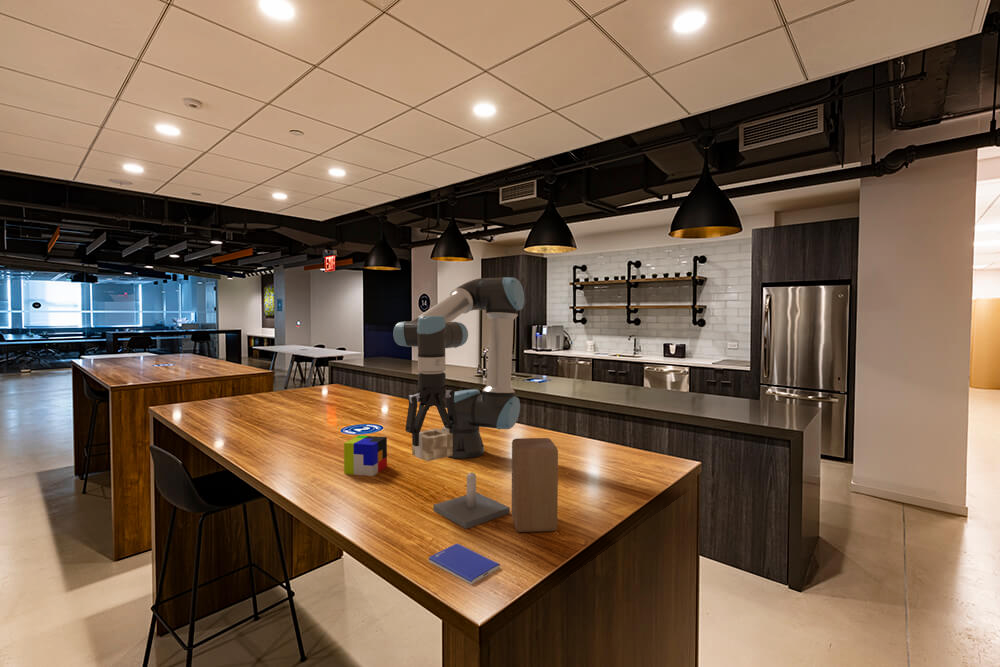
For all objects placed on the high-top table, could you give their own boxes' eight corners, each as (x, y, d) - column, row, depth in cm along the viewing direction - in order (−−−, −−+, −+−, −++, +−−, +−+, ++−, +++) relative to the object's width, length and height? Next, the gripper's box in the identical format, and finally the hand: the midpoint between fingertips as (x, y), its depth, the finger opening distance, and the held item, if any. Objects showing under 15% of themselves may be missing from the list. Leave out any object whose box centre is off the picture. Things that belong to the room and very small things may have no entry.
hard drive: (428, 556, 97) (471, 579, 89) (457, 542, 103) (500, 562, 95) (428, 564, 97) (471, 588, 89) (457, 549, 103) (500, 570, 95)
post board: (476, 497, 132) (476, 461, 131) (509, 513, 121) (509, 473, 121) (433, 510, 122) (433, 471, 122) (465, 529, 112) (465, 486, 111)
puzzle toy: (373, 476, 149) (372, 444, 149) (344, 473, 151) (344, 443, 151) (386, 466, 159) (386, 437, 158) (359, 464, 161) (359, 435, 160)
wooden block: (511, 515, 119) (511, 437, 119) (550, 514, 120) (550, 436, 120) (515, 534, 109) (516, 448, 109) (558, 532, 110) (558, 447, 110)
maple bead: (436, 449, 136) (436, 428, 136) (452, 455, 130) (452, 433, 129) (412, 454, 131) (412, 433, 130) (427, 461, 125) (427, 439, 124)
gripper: (404, 376, 119) (405, 465, 120) (470, 370, 133) (470, 449, 134) (390, 373, 125) (391, 458, 126) (454, 367, 139) (455, 444, 140)
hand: (432, 453), depth 130 cm, fingers closed on maple bead, 8 cm apart
